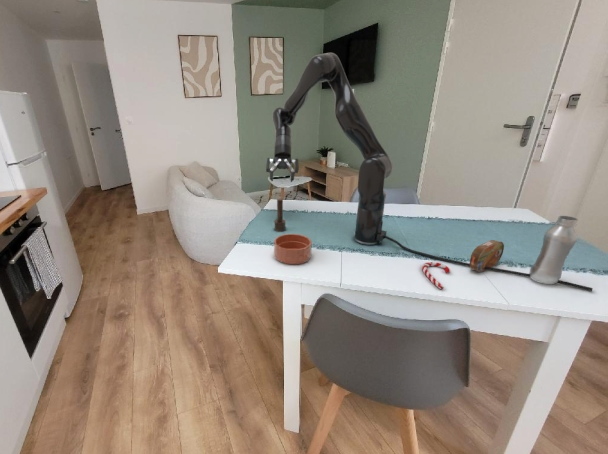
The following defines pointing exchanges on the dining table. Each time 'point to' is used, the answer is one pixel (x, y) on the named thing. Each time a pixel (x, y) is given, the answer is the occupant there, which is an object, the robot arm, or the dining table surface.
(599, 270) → the dining table surface
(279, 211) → the pestle
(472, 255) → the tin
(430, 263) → the candy cane
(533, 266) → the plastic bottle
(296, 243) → the bowl
